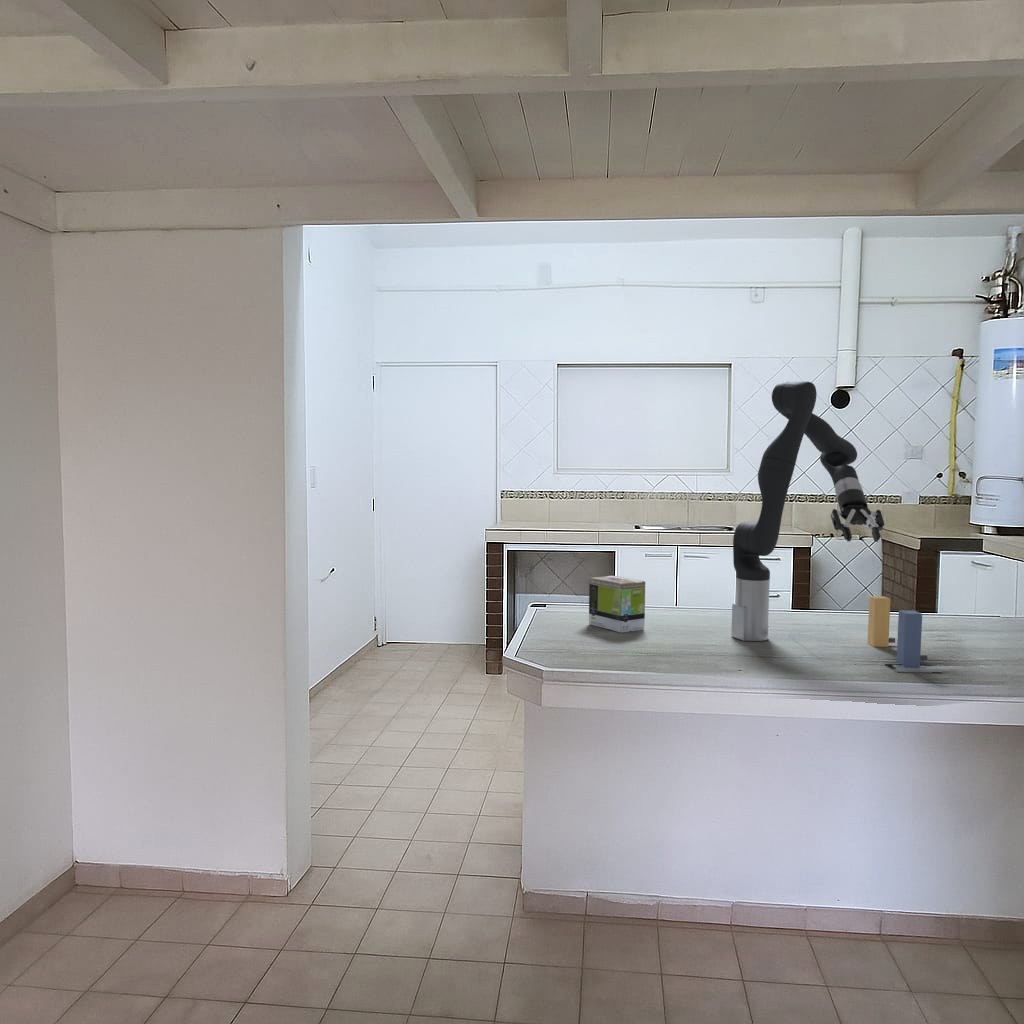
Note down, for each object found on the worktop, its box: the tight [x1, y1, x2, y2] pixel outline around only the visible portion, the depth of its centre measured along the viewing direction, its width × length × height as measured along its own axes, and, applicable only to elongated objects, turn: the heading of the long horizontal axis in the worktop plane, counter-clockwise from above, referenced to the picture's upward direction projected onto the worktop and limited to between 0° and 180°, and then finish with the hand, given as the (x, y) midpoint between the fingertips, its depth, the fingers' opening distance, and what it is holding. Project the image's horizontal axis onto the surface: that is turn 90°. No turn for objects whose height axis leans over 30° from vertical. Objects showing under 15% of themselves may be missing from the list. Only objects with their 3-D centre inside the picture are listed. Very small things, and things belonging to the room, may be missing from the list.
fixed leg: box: [896, 610, 928, 666], centre depth 207 cm, size 4×6×13 cm, turn 88°
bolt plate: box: [884, 663, 943, 673], centre depth 217 cm, size 26×11×1 cm, turn 178°
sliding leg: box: [867, 595, 896, 648], centre depth 226 cm, size 4×6×13 cm, turn 88°
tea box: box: [588, 575, 646, 633], centre depth 252 cm, size 15×10×15 cm
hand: (863, 539), depth 237 cm, fingers open, 7 cm apart
